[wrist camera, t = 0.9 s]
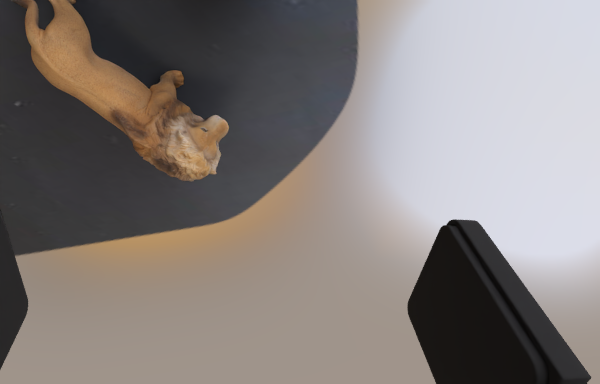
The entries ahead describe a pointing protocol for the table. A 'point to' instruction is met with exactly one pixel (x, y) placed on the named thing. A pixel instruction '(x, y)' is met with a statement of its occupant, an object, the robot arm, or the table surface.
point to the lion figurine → (125, 96)
